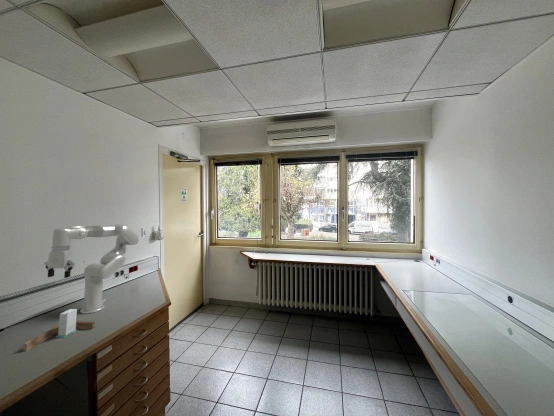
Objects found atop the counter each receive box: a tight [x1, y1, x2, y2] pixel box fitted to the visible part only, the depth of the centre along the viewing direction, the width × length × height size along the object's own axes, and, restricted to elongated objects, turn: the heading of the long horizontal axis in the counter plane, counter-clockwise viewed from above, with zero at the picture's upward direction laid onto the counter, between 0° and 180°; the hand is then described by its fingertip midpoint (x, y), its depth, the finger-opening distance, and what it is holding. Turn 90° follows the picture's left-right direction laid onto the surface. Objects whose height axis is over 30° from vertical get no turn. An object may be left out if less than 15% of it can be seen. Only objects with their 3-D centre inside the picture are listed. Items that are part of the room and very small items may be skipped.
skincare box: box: [57, 308, 78, 336], centre depth 118 cm, size 6×4×12 cm
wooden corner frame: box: [22, 320, 96, 352], centre depth 114 cm, size 22×16×4 cm
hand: (59, 276), depth 128 cm, fingers open, 9 cm apart
